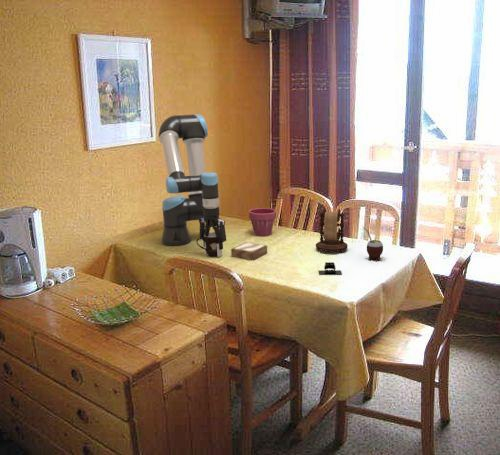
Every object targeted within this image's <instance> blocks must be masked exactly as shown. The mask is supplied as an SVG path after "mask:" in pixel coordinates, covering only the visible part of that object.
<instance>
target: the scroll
mask: <svg viewBox="0 0 500 455" xmlns="http://www.w3.org/2000/svg"><path fill="white" fill-rule="evenodd" d="M319 215H320V216H319V218H320V219H319V221H320V222H319V227H320V229H319V235H320V236H319V237H320V238H319V241H317V243H316V244H315V248H316V249H317V250H318V253H321V251H323V252H331V253H332V252H334V253H335V252H338V254H341V253H342V252H343V251H345V250H347V249H348V243H346V242H345V241H344V236H345V233H344V227H345V222H344V221H345V220H344V217H345V214H344V213H343V212H341V210H340V208H338V209H337V211H327V209H326V208H323V211H320V212H319ZM339 221H340V222H339ZM338 227H339V228H338Z"/></svg>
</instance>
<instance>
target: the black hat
mask: <svg viewBox="0 0 500 455" xmlns="http://www.w3.org/2000/svg"><path fill="white" fill-rule="evenodd" d="M323 269H324V270H318V276H343V273H342V270H340V269H339V270H338V269H337V270H336V264H335V262H332V261H331V262H325V264H324V266H323Z"/></svg>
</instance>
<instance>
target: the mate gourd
mask: <svg viewBox="0 0 500 455" xmlns="http://www.w3.org/2000/svg"><path fill="white" fill-rule="evenodd" d="M362 228H363V229H364V230H366V232H367V234H368V238H369V241H368V242H367V244H366V252H367V254H368V257H369V258H368V261H374V260H375V261H378V262H380V261H381V256H382V254H383V252H384V245H383V243H382V241H381V240H376V239H372V237H371V234H370V231H369V229H368V228H366V227H365V226H362Z"/></svg>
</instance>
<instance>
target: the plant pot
mask: <svg viewBox="0 0 500 455" xmlns="http://www.w3.org/2000/svg"><path fill="white" fill-rule="evenodd" d="M276 217H277V211H276V209H273V208H268V207H260V208H259V207H258V208H252V209H249V210H248V219H250V222H251V225H252V230H253V234H254V236H258V237H267V236H271V235H272V231H273V228H274V222H275V219H276Z"/></svg>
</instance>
